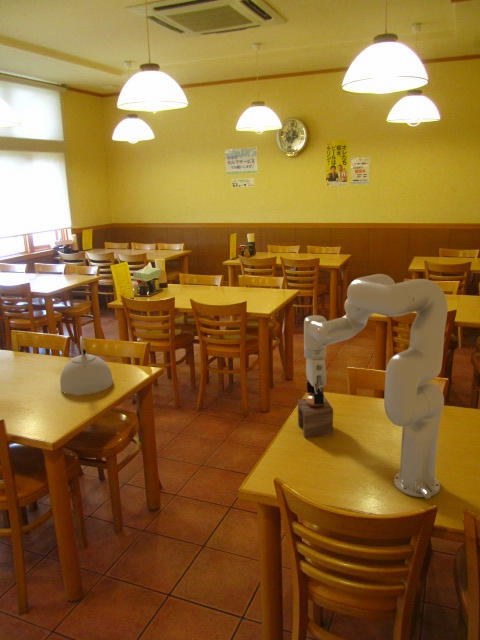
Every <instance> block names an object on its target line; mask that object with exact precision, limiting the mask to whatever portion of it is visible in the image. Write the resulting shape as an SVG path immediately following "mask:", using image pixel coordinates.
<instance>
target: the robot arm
mask: <svg viewBox="0 0 480 640" xmlns="http://www.w3.org/2000/svg"><path fill="white" fill-rule="evenodd" d="M346 297H347V298H346V300H345V301H344V305H343V308H344V312H345V315H343V316H342V317H339V318H338V317H337V318H333V319H330V320H327V319H326V317H324V316H323V315H318V314H317V315H314V314H313V315H309V316H306V317H305V318H304V320H303V357H304V358H305V359H306V360H305V375H306V376H305V377H306V392H307V394H309V393H314V404H315V405H317V404H323V403H324V396H325V394H324V393H325V392H324V391H325V389H324V387H325V386H327V367H326V358H327V346H329V345H334V344H336V343H340V342H343V341H347V340H349V339H351V338H353V337H354V336H356V335H357V334H359V332H361V331H362V330H363V329H364V328H365V327H366V326H367V324H368V320H369V318H371V317H372V315H374V314H377V315H380V316H383V317H389V318H394V317H400V316H405V315H408V314H413V313H415V312H416V316H415V319H414V320H413V322H412V324H411V327H410V335H409V336H410V337H409V345H408V348H407V349H406V350H402V351H400V352H398V353H396V354H394V355H393V356H391V358H390V359H389V361H388V363H387V364H386V368H385V375H384V376H385V377H384V379H385V381H384V399H383V400H384V401H383V402H384V403H383V406H384V407H383V408H384V412H385V415H386V417H387V419H388V420H389V421H390V422H391V423H392V424H393V425H395V426H397V427H402V429H401V447H400V463H399V472H397V473H395V475H394V477H393V483H394V486H395V488H397V489H398V490H399V491H400V492H402V493H404V494H406V495H408V496H411V497H416V498H425V499H430V498H432V496H433V497H434V496H435V495H437V494H438V493H439V492H440V491H441V490H440V489H441V484H440V481H439V480H438V478H436V467H437V466H436V463H437V451H438V439H439V428H440V422H441V417H442V414H443V410H444V406H445V397H444V393H443V391H442V389H441V388H440V387H439V386H438V385H437V384H436V383H434V382H432V381H431V380H434V379H436V378H437V377H438V376H439V375H440V374H441V371H442V366H443V356H444V343H445V333H446V332H445V331H446V324H447V317H448V300H447V297H446V295H445V292H444V290H442V288H441V287H440V285H438V284H437V283H436V282H434V281H433V280H429V279H427V278H416V279H409V280H405V281H402V282H401V281H400V282H395V281H394V279H393V278H392V277H391V276H390V275H387V274H384V273H376V274H372V275H365V276H361V277H357V278H356V279H354V280H352V281H351V282H350V284H349V285H348V287H347V290H346Z"/></svg>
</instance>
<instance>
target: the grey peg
mask: <svg viewBox="0 0 480 640" xmlns="http://www.w3.org/2000/svg"><path fill="white" fill-rule="evenodd" d="M325 398H326V397H325V395H324V403H323V404H317V405H315V404H314V393H307V394H306V395H305V399H306V405H307V406H308V407H311V408H321V407H323V406H324V405H325Z"/></svg>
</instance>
